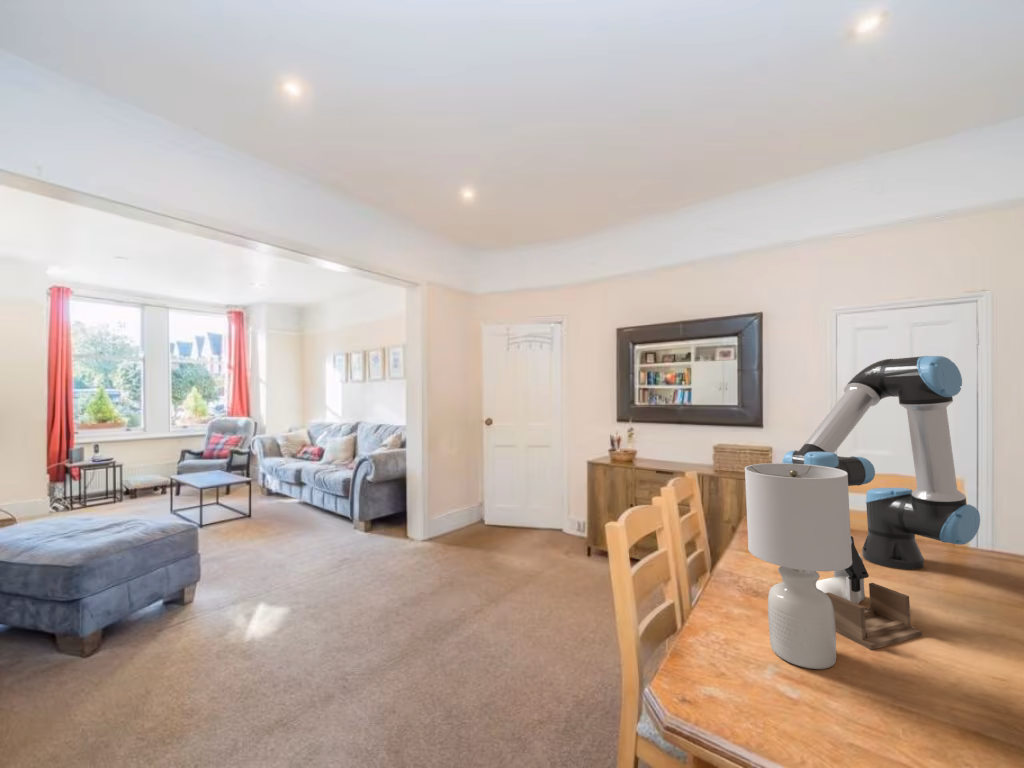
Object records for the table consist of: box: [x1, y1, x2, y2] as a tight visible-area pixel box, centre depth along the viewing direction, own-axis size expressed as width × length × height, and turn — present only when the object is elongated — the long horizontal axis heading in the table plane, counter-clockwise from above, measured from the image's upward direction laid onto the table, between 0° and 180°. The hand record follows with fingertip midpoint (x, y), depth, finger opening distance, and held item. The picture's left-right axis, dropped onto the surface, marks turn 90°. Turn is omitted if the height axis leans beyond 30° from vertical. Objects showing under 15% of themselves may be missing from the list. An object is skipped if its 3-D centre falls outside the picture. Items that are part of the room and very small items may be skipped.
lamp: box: [744, 462, 852, 670], centre depth 97 cm, size 19×19×39 cm
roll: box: [816, 576, 862, 605], centre depth 117 cm, size 9×7×7 cm
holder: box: [826, 582, 923, 650], centre depth 105 cm, size 16×12×8 cm
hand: (826, 592), depth 119 cm, fingers open, 13 cm apart
